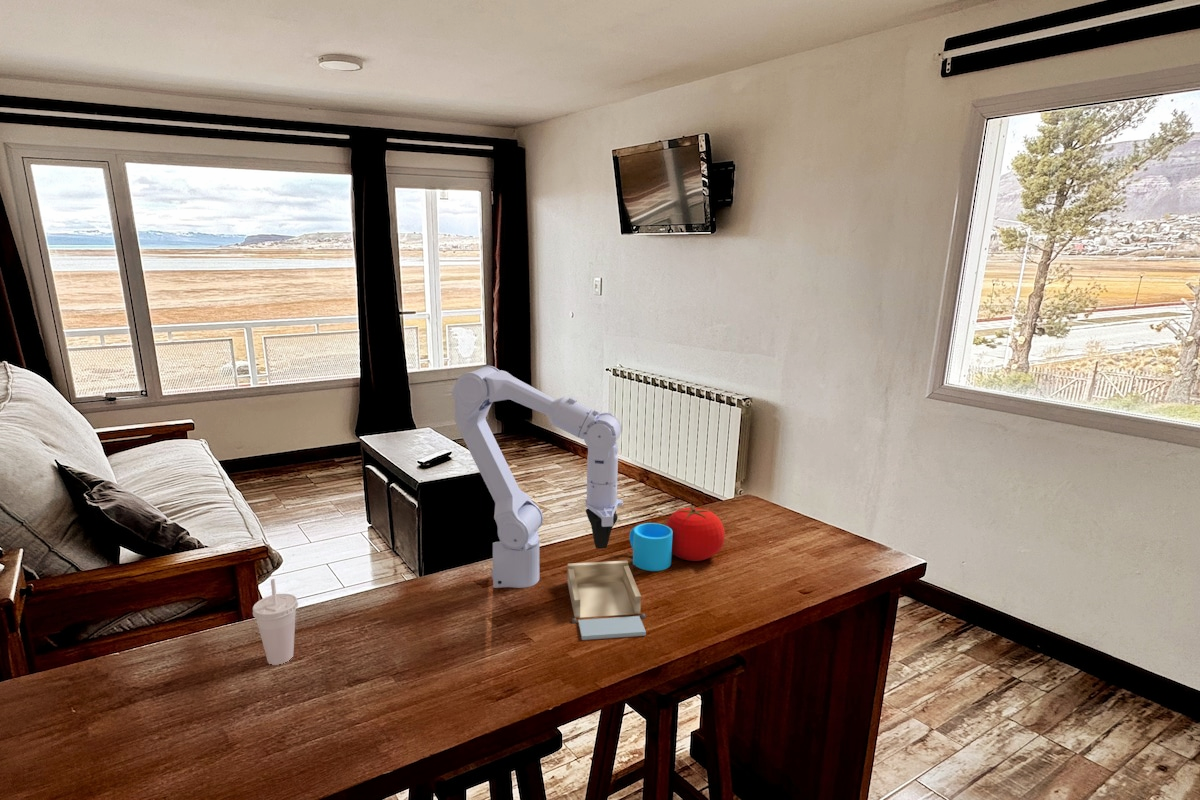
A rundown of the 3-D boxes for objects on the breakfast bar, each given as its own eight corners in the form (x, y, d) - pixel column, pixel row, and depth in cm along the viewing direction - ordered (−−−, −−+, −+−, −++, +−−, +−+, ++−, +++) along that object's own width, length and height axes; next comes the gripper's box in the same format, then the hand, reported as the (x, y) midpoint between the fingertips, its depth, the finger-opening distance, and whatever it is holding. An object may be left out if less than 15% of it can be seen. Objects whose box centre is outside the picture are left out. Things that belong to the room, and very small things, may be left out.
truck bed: (572, 628, 112) (572, 602, 110) (564, 586, 126) (564, 563, 125) (645, 623, 114) (646, 597, 112) (629, 583, 128) (630, 560, 127)
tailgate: (578, 624, 112) (582, 640, 107) (578, 619, 112) (582, 636, 106) (639, 620, 113) (645, 636, 108) (639, 615, 113) (645, 631, 108)
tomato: (654, 548, 143) (656, 503, 141) (704, 540, 148) (707, 496, 146) (679, 572, 132) (682, 523, 130) (733, 563, 137) (736, 515, 135)
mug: (678, 569, 134) (680, 533, 132) (648, 579, 130) (649, 542, 128) (644, 548, 144) (646, 514, 142) (615, 556, 139) (616, 521, 138)
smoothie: (257, 675, 97) (248, 592, 94) (258, 652, 103) (249, 573, 100) (303, 663, 100) (296, 583, 97) (301, 642, 106) (294, 565, 103)
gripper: (630, 492, 112) (628, 563, 115) (616, 466, 126) (614, 530, 129) (591, 493, 111) (590, 565, 114) (581, 467, 125) (580, 531, 128)
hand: (600, 546), depth 121 cm, fingers closed
